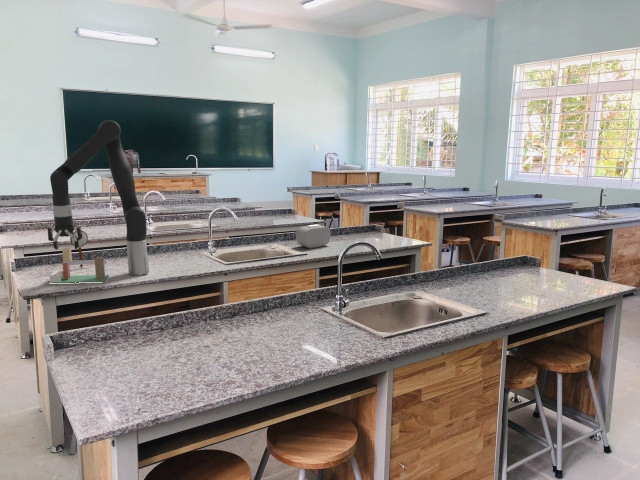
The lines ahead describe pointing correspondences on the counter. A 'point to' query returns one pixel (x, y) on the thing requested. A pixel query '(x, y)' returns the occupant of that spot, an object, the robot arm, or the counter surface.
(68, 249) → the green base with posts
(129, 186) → the robot arm
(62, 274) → the ball
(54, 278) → the pitch
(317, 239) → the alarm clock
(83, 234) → the magnifying glass
